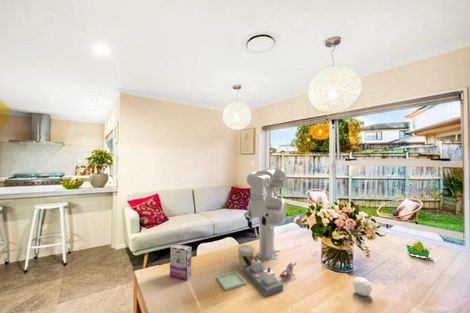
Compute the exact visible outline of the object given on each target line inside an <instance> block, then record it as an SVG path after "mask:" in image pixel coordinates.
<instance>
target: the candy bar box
mask: <svg viewBox="0 0 470 313" xmlns="http://www.w3.org/2000/svg"><path fill="white" fill-rule="evenodd" d="M169 248H170V250H169V251H170V252H169V253H170V254H169V260H170V262H169V277H171V278H175V279H179V280H183V281H188V280H189V278H190V277H191V276H192V250H193V249H192V248H193V247H192V246H190V245H189V246H188V245H184V244H177V243H176V244H173V245H172V246H170V247H169Z"/></svg>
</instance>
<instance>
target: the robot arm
mask: <svg viewBox="0 0 470 313" xmlns="http://www.w3.org/2000/svg"><path fill="white" fill-rule="evenodd" d="M246 183H247V184H248V186H250V188H249V189H250V198H249V200H248V204H247V211H246V212H245V213H243V216H244V218H245V220H246V221H247V227H248V228H249V229H250V230H251V229H253V221H252V220H253V219H255V218H258V222H259V224H258V226H259V251H258V252H257V253H256V257H257V258H258V259H260V260H262V261H272V260H273V261H274V260H276V259H277V255H276V253H279V252H280V248H275V246H274V245H275V243H274V242H275V238H274V237H275V231H274V228H273V226H280V227H281V226H284V223H285V220H286V216H287V215H286V214H287V206H288V205H287V204H288V203H287V200H286V199H284V198H280V197H279V194H278V191H276V189H286V188H288V184H289V181H288V177H287V173H286V171H285V169H283V168H279V167H270V168H269V167H268V168H266V169H265V170H258V171H253V172H250V173H249V174H248V175H247V177H246ZM264 187H265V191H266V194H264V192H265V191H264ZM264 197H265V198H264ZM278 197H279V198H278Z"/></svg>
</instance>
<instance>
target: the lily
mask: <svg viewBox="0 0 470 313" xmlns="http://www.w3.org/2000/svg"><path fill="white" fill-rule="evenodd" d="M297 263H298V261H295V262H294V263H292V262H290V263H288V265H286V269H284V270H283V271H282V272H281V274H280V276H282V275H283V274H285V273H287V274H292V276H293V278H294V280H296V276H295V275H294V273H293V270H294V266H296V265H297Z"/></svg>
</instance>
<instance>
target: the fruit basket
mask: <svg viewBox="0 0 470 313" xmlns="http://www.w3.org/2000/svg"><path fill="white" fill-rule="evenodd" d="M405 247H406V250H407V253H408V252H409V253H408V255H409V254H413V255H419V256H425V257H429V255H430V253H431V252H430V251H429V250H428V248H424V245H423V243H422V242H421V241H419V240H418V241H415V242H414V243H413V244H412V245H408V244H407V245H405Z"/></svg>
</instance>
